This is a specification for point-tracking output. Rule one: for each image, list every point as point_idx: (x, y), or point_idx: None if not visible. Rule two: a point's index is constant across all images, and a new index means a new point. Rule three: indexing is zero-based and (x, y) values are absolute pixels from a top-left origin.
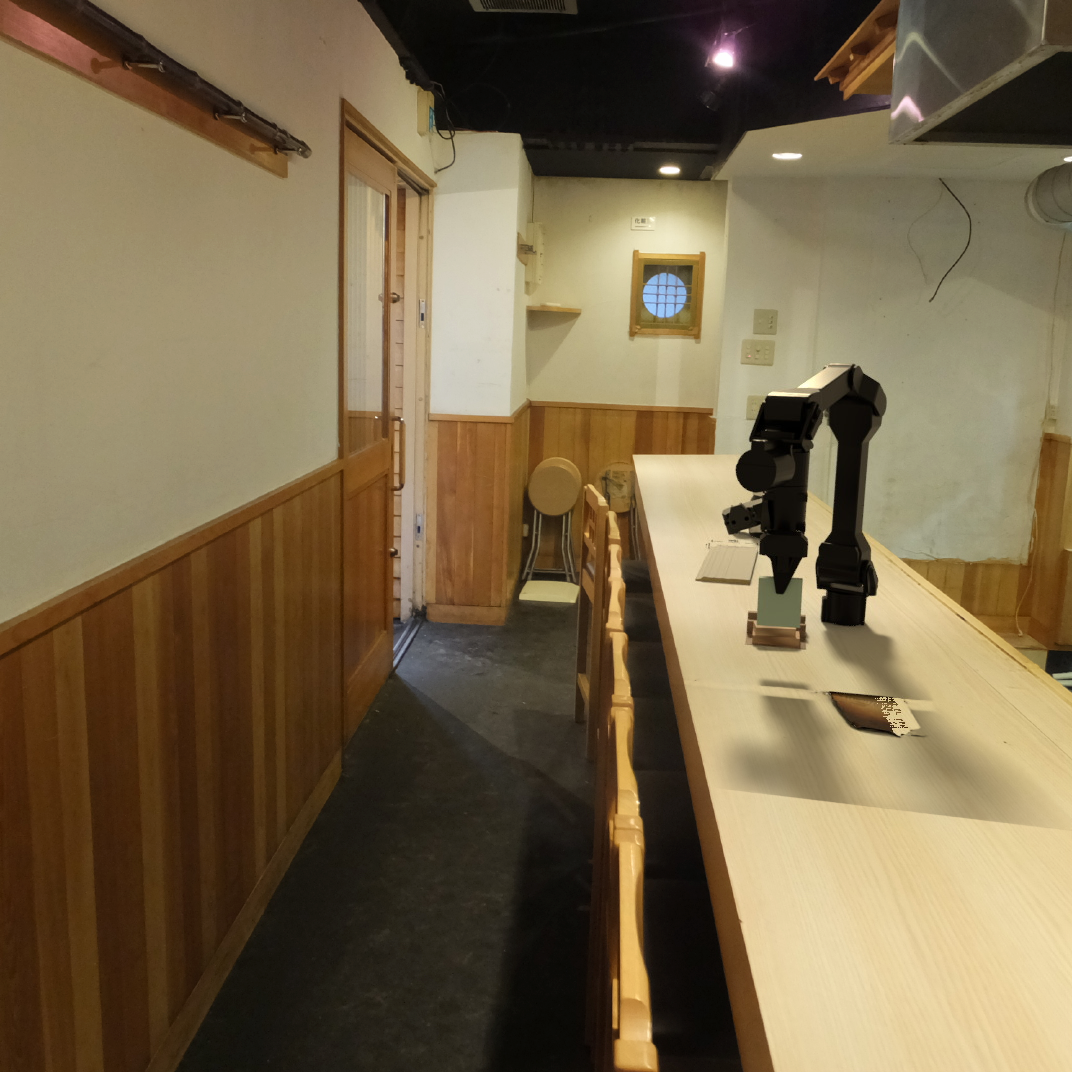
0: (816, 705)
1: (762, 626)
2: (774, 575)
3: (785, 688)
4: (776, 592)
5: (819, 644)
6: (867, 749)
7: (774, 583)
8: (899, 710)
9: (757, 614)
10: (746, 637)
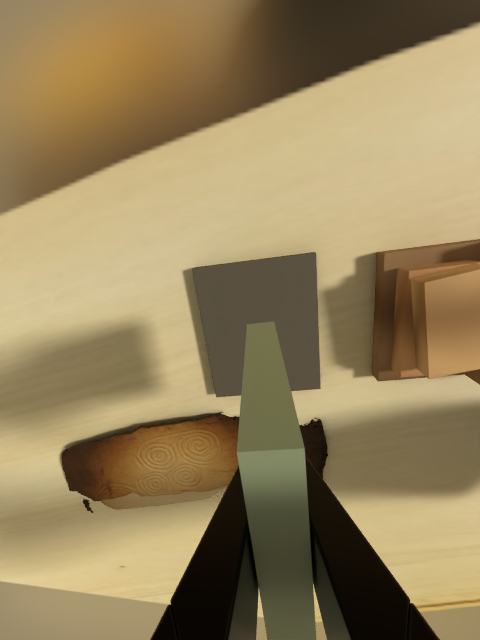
0: (120, 404)
1: (438, 298)
2: (183, 582)
3: (171, 356)
4: (238, 468)
5: (454, 392)
6: (10, 461)
7: (215, 512)
8: (151, 495)
9: (246, 339)
10: (443, 247)
